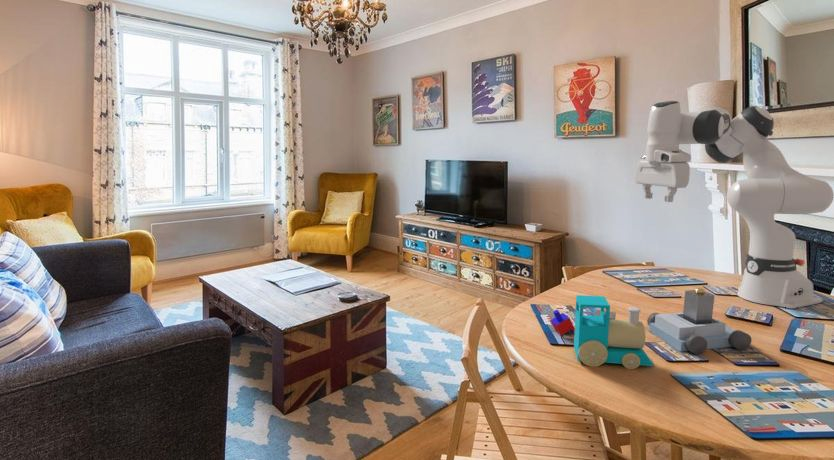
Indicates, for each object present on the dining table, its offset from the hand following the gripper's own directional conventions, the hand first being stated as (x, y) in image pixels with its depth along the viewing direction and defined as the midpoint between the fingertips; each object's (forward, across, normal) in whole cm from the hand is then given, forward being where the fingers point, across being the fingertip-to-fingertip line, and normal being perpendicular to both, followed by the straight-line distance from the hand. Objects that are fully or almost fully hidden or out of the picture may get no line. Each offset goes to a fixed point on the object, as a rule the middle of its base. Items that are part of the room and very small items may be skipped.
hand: (658, 200), depth 135 cm
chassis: (+33, +28, -7) cm, 44 cm away
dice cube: (+34, +19, -28) cm, 47 cm away
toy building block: (+33, +18, -39) cm, 54 cm away
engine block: (+31, +28, -7) cm, 42 cm away
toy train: (+34, +35, -35) cm, 60 cm away
